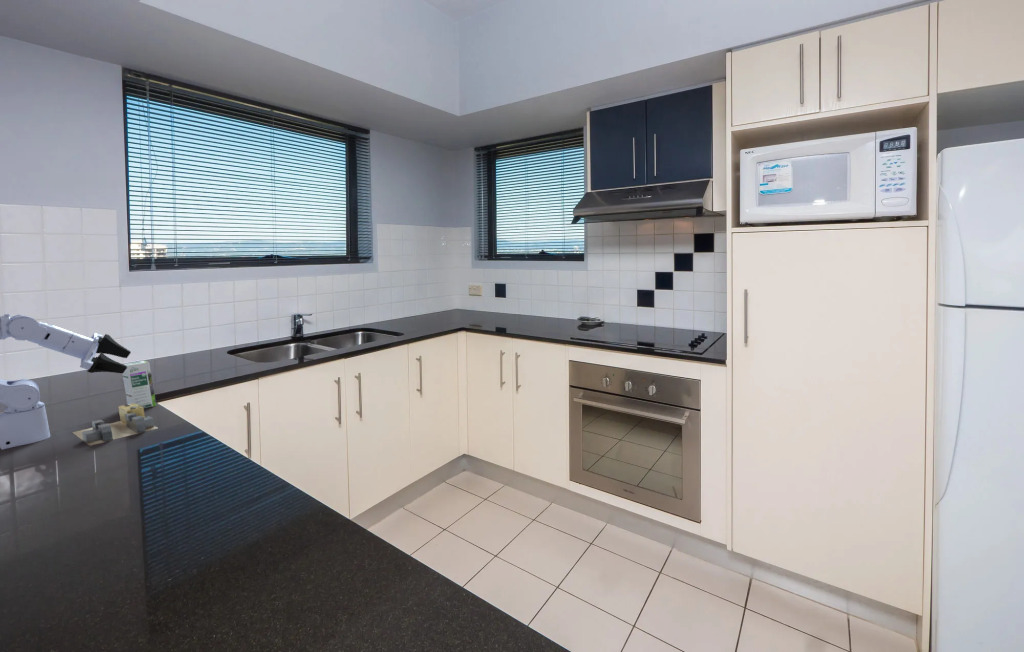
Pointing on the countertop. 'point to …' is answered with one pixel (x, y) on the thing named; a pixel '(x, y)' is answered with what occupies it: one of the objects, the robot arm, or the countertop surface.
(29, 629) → the countertop surface
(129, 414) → the chain ends
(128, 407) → the link
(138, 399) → the syrup box
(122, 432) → the board
